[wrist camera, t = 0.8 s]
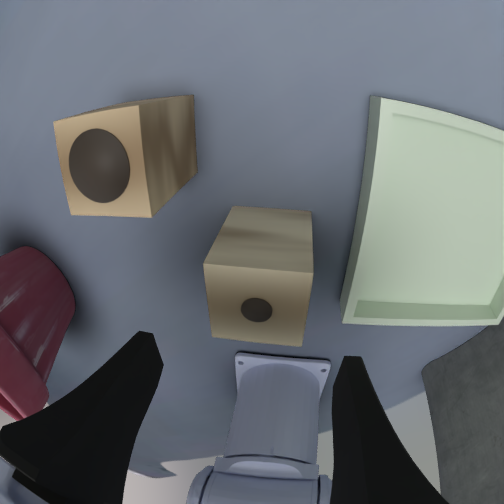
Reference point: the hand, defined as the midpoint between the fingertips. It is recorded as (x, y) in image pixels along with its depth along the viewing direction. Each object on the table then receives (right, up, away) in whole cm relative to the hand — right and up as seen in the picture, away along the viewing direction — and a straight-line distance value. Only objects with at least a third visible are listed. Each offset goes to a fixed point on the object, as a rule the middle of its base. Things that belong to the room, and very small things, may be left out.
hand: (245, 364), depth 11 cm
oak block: (-5, +11, +5) cm, 13 cm away
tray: (+13, +6, +5) cm, 15 cm away
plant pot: (-21, +1, +14) cm, 25 cm away
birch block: (+1, +5, +8) cm, 9 cm away
